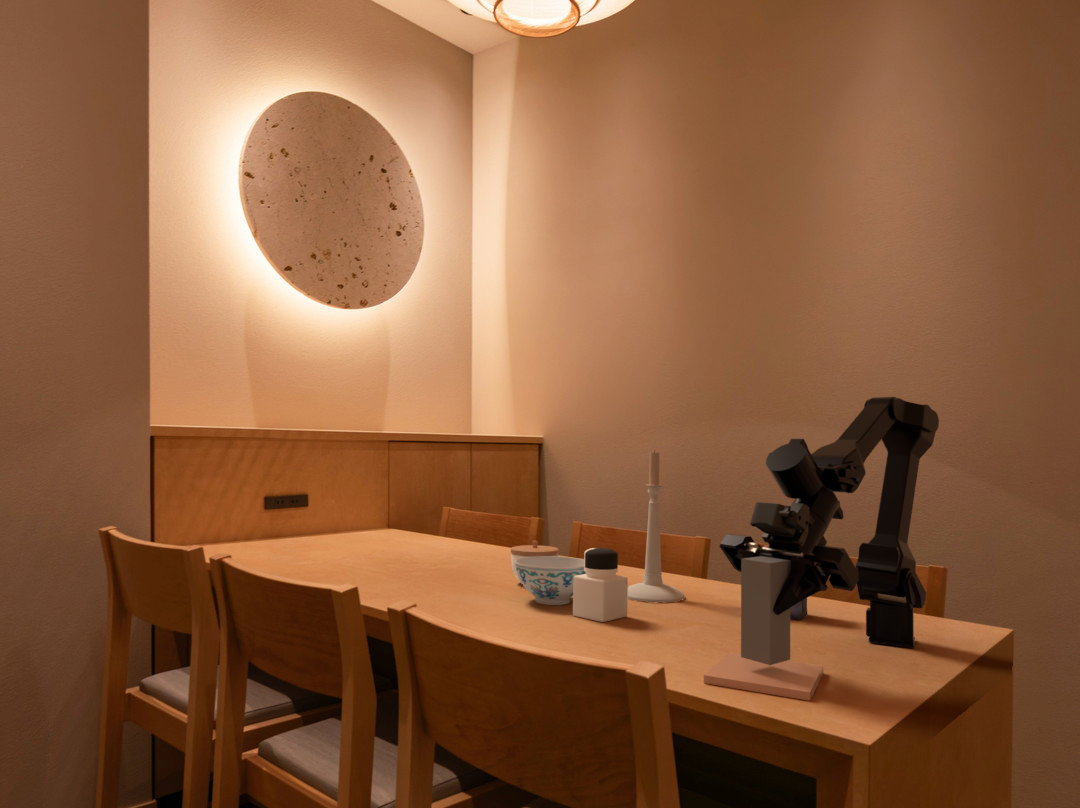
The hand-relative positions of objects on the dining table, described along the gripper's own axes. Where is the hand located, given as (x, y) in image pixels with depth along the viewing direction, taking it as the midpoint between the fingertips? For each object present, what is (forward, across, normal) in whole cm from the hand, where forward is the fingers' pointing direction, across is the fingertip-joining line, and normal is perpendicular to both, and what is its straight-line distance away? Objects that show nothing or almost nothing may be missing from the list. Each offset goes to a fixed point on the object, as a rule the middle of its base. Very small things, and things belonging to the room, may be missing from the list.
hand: (759, 609), depth 99 cm
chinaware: (0, -54, +13) cm, 55 cm away
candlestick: (-14, -47, +28) cm, 56 cm away
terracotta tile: (+6, 0, +7) cm, 9 cm away
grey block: (+4, 0, +6) cm, 7 cm away
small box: (-19, -23, +33) cm, 45 cm away
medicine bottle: (+1, -39, +12) cm, 41 cm away
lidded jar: (-6, -71, +19) cm, 74 cm away
